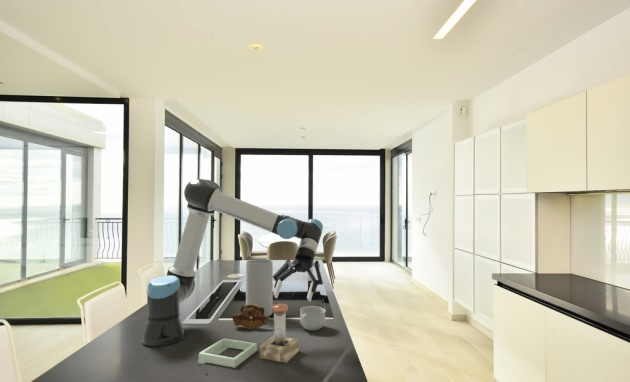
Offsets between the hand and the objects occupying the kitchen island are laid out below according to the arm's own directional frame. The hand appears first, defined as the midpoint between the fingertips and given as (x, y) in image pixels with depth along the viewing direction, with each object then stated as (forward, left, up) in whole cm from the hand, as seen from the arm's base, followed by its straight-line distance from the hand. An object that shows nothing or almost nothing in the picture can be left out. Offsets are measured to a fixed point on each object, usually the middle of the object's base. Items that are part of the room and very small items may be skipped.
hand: (291, 298), depth 136 cm
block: (0, -10, -18) cm, 20 cm away
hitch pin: (0, -10, -17) cm, 19 cm away
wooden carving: (-24, +11, -18) cm, 32 cm away
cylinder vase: (-30, +29, -18) cm, 46 cm away
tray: (-16, -17, -18) cm, 29 cm away
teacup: (0, +19, -18) cm, 26 cm away
